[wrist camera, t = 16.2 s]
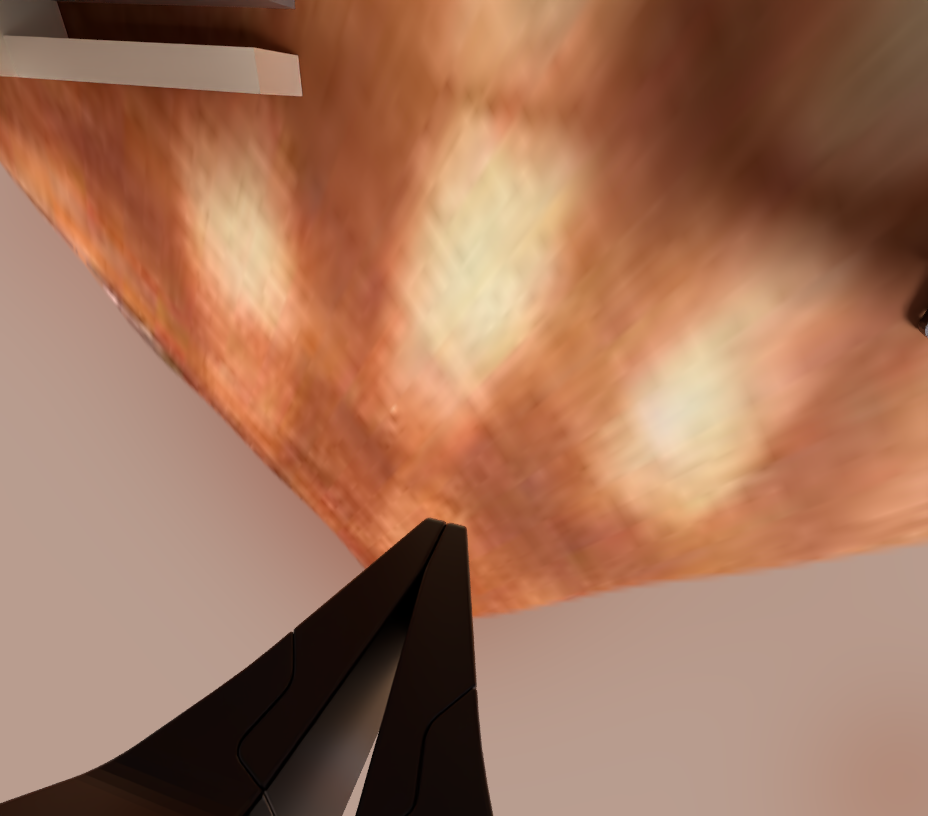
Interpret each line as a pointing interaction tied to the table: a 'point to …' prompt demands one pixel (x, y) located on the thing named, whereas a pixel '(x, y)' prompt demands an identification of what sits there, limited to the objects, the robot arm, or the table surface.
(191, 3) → the panel
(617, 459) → the table surface
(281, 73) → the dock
